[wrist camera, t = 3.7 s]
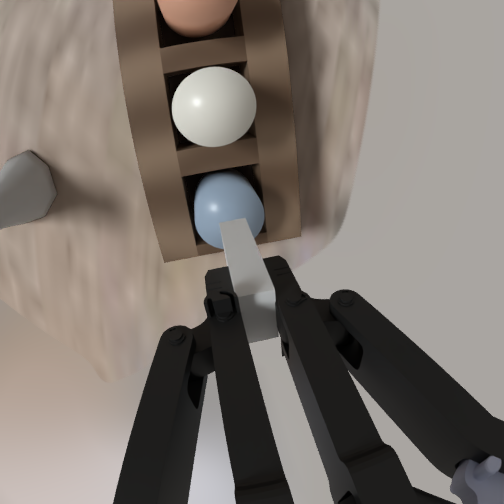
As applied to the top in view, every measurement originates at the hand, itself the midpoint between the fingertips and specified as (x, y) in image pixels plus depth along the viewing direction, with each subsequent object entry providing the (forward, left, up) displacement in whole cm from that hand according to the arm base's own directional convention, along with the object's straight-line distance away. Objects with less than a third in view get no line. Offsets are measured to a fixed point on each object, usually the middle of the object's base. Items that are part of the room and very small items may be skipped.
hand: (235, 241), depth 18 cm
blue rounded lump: (+1, 0, -9) cm, 9 cm away
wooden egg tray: (-7, 0, -11) cm, 13 cm away
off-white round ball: (-7, 0, -8) cm, 11 cm away
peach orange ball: (-15, 0, -8) cm, 17 cm away
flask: (-4, -19, -11) cm, 22 cm away
